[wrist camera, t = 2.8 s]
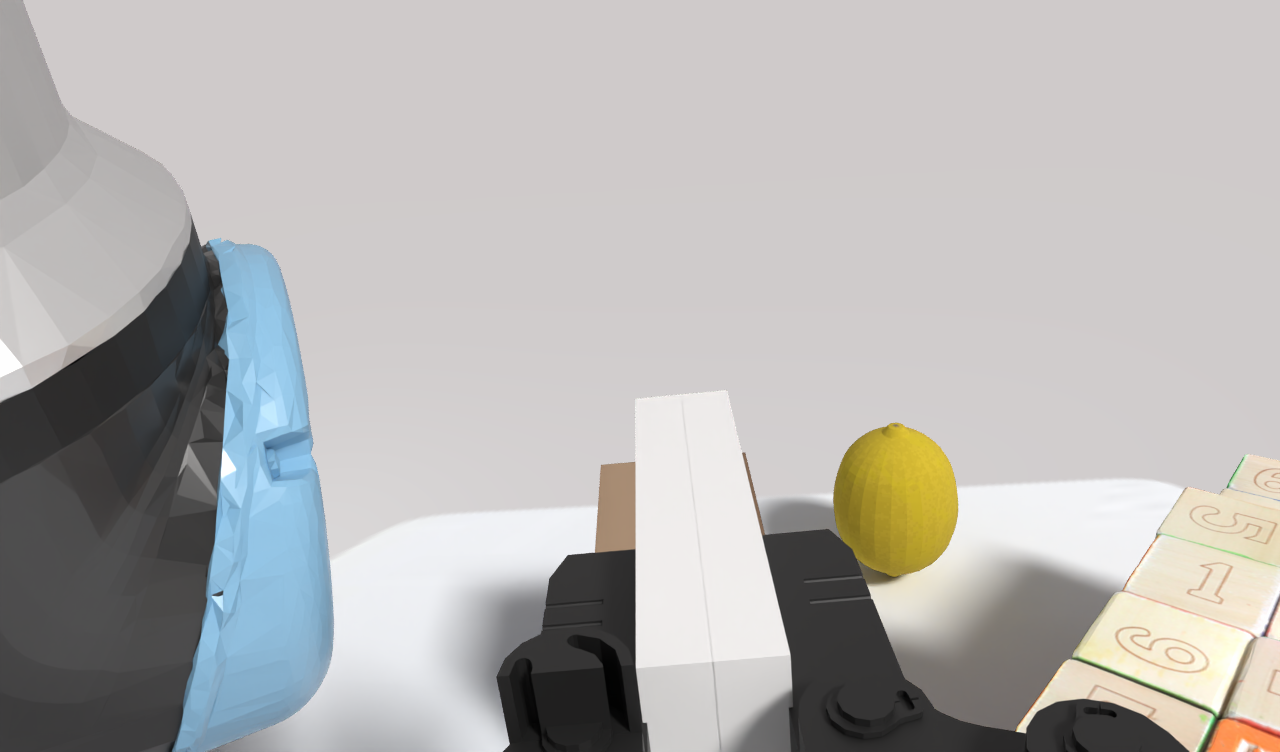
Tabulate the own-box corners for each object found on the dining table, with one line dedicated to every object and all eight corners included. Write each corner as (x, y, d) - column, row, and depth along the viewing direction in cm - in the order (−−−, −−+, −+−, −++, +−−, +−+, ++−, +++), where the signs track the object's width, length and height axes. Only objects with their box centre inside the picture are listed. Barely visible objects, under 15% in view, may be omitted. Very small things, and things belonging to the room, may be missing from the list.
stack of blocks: (1210, 650, 37) (1261, 374, 33) (1405, 719, 33) (1496, 415, 28) (976, 1093, 24) (1006, 726, 19) (1260, 1306, 19) (1391, 905, 15)
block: (631, 841, 30) (594, 565, 26) (631, 710, 36) (601, 465, 32) (781, 831, 30) (768, 551, 26) (758, 700, 36) (744, 452, 32)
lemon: (810, 576, 44) (807, 428, 41) (881, 529, 47) (883, 388, 44) (907, 627, 40) (911, 467, 37) (978, 572, 43) (987, 421, 40)
